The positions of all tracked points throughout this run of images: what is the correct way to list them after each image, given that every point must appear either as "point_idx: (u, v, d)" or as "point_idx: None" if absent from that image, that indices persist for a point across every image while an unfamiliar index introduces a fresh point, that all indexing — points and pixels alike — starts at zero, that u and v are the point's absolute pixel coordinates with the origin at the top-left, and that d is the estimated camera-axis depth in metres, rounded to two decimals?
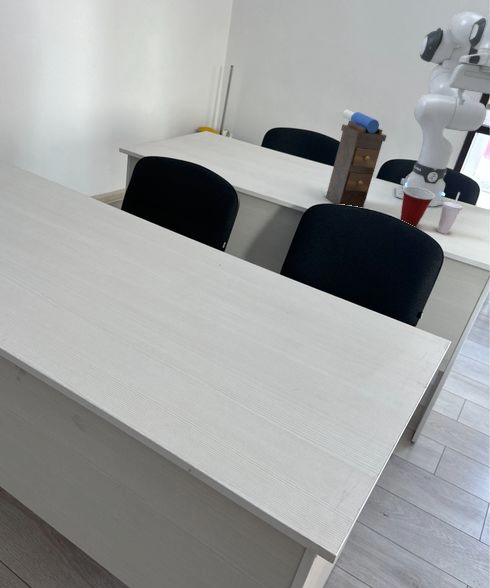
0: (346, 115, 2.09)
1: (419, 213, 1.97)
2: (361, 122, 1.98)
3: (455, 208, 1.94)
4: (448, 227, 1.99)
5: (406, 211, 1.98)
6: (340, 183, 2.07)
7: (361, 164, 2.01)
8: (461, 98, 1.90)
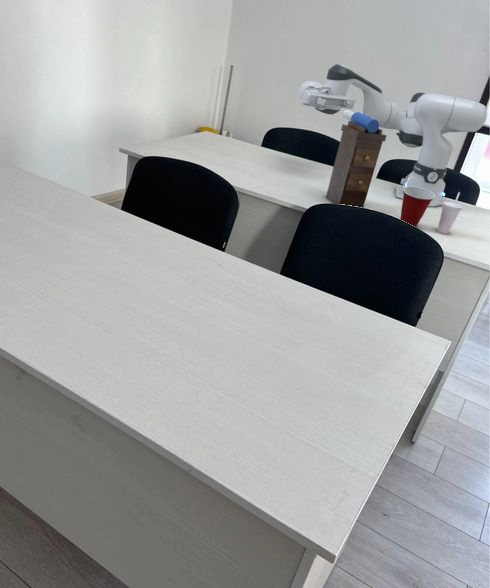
0: (346, 115, 2.09)
1: (419, 213, 1.97)
2: (361, 122, 1.98)
3: (455, 208, 1.94)
4: (448, 227, 1.99)
5: (406, 211, 1.98)
6: (340, 183, 2.07)
7: (361, 164, 2.01)
8: (323, 99, 2.17)
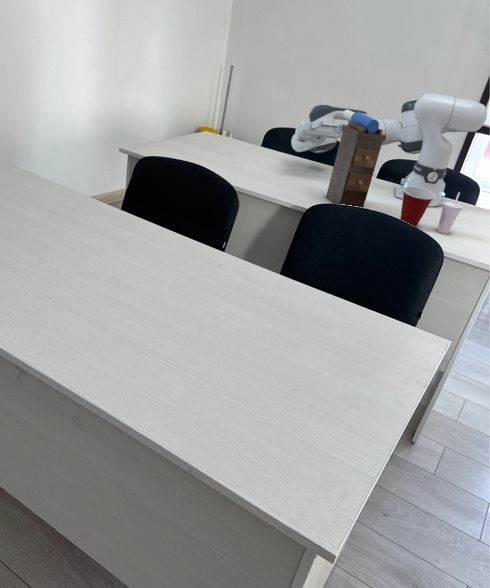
0: (346, 115, 2.09)
1: (419, 213, 1.97)
2: (361, 122, 1.98)
3: (455, 208, 1.94)
4: (448, 227, 1.99)
5: (406, 211, 1.98)
6: (340, 183, 2.07)
7: (361, 164, 2.01)
8: (317, 122, 2.22)
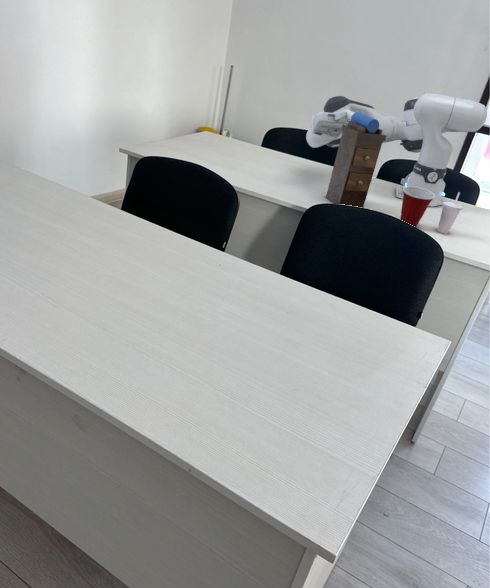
0: None
1: (419, 213, 1.97)
2: (361, 122, 1.98)
3: (455, 208, 1.94)
4: (448, 227, 1.99)
5: (406, 211, 1.98)
6: (340, 183, 2.07)
7: (361, 164, 2.01)
8: (341, 113, 2.10)
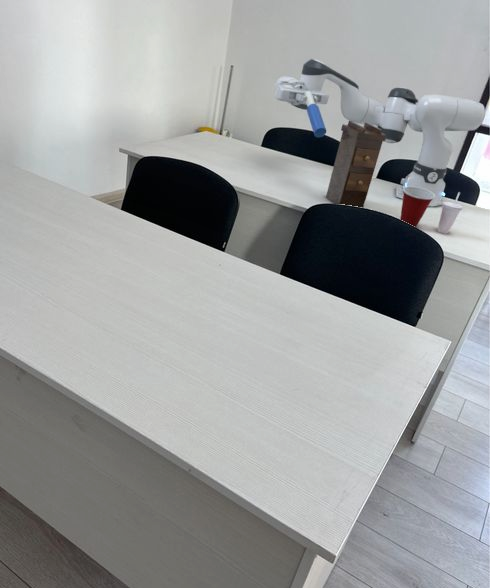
0: (306, 100, 2.17)
1: (419, 213, 1.97)
2: (312, 122, 2.11)
3: (455, 208, 1.94)
4: (448, 227, 1.99)
5: (406, 211, 1.98)
6: (340, 183, 2.07)
7: (361, 164, 2.01)
8: (302, 95, 2.17)
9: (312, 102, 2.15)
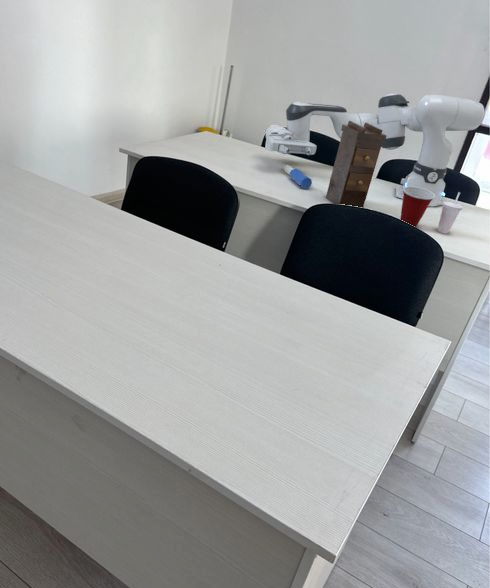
0: (286, 170, 2.35)
1: (419, 213, 1.97)
2: (297, 178, 2.24)
3: (455, 208, 1.94)
4: (448, 227, 1.99)
5: (406, 211, 1.98)
6: (340, 183, 2.07)
7: (361, 164, 2.01)
8: (285, 147, 2.27)
9: (293, 169, 2.32)
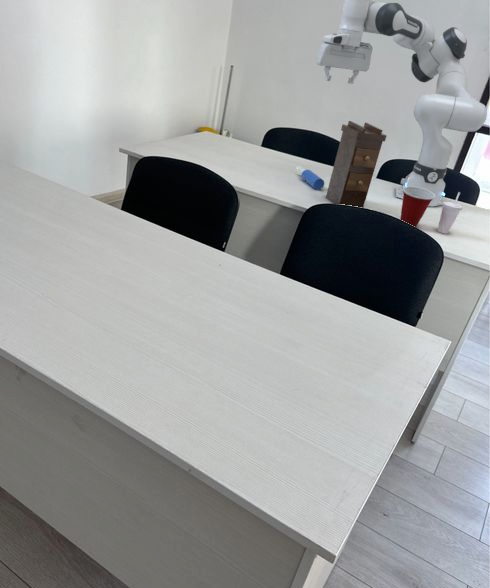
0: (304, 169, 2.36)
1: (419, 213, 1.97)
2: None
3: (455, 208, 1.94)
4: (448, 227, 1.99)
5: (406, 211, 1.98)
6: (340, 183, 2.07)
7: (361, 164, 2.01)
8: (328, 74, 2.11)
9: None
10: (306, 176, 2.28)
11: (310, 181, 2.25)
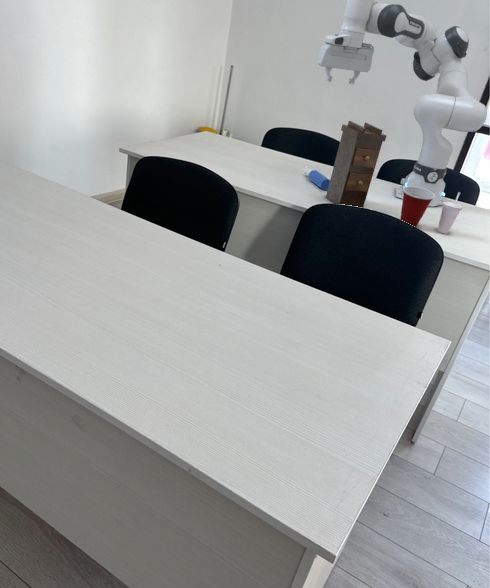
0: None
1: (419, 213, 1.97)
2: None
3: (455, 208, 1.94)
4: (448, 227, 1.99)
5: (406, 211, 1.98)
6: (340, 183, 2.07)
7: (361, 164, 2.01)
8: (329, 75, 2.11)
9: (309, 176, 2.36)
10: (320, 173, 2.29)
11: (323, 176, 2.25)
